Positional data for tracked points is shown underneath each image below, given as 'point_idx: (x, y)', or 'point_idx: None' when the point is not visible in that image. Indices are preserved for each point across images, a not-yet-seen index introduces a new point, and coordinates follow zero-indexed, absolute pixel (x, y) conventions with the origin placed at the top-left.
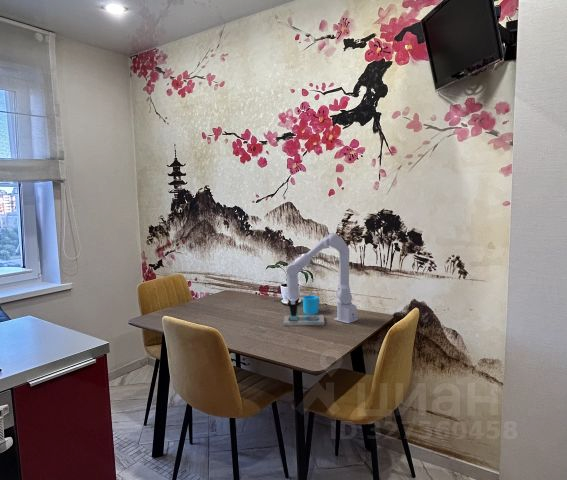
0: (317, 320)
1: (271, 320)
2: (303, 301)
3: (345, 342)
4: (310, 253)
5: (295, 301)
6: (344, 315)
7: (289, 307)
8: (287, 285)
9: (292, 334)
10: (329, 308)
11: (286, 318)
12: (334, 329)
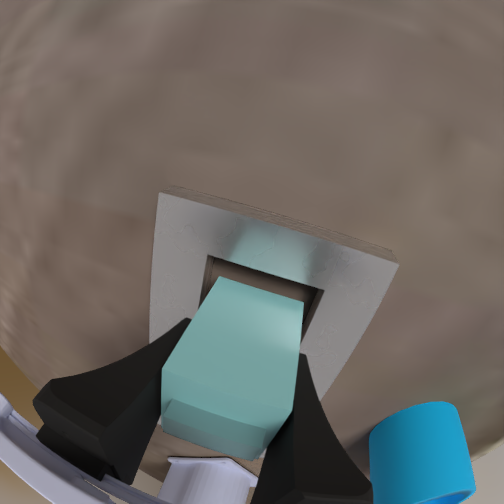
0: None
1: (385, 98)
2: (442, 471)
3: (19, 357)
4: None
5: (258, 500)
6: (180, 482)
7: (99, 368)
8: None
9: (31, 215)
10: None
11: (294, 259)
12: None
